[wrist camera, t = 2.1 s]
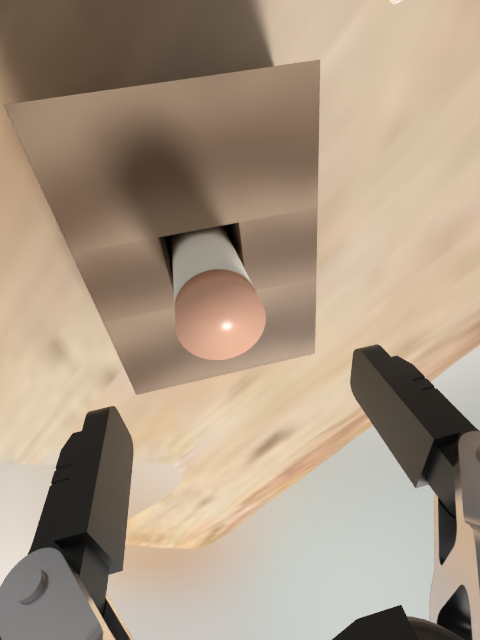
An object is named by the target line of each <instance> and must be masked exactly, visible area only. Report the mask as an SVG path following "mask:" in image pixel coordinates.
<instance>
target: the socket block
mask: <svg viewBox="0 0 480 640" xmlns="http://www.w3.org/2000/svg"><path fill="white" fill-rule="evenodd" d="M319 91H320V60H315V61H308V62H301V63H294V64H287V65H280V66H273V67H266V68H259V69H252V70H245V71H238V72H231V73H224V74H217V75H210V76H203V77H196V78H189V79H182V80H174V81H167V82H160V83H153V84H146V85H139V86H132V87H125V88H118V89H111V90H104V91H97V92H90V93H83V94H76V95H69V96H62V97H55V98H48V99H41V100H34V101H27V102H20V103H13V104H6V105H4V107H5V110H6V112H7V114H8V116H9V118H10V120H11V123H12V125H13V127H14V129H15V131H16V134H17V136H18V138H19V140H20V142H21V144H22V147H23V149H24V151H25V153H26V155H27V157H28V160H29V162H30V164H31V166H32V168H33V171H34V173H35V175H36V177H37V179H38V181H39V184H40V186H41V188H42V190H43V192H44V195H45V197H46V199H47V201H48V203H49V205H50V208H51V210H52V212H53V214H54V216H55V218H56V221H57V223H58V225H59V227H60V229H61V232H62V234H63V236H64V238H65V240H66V242H67V245H68V247H69V249H70V251H71V253H72V256H73V258H74V260H75V262H76V264H77V266H78V269H79V271H80V273H81V275H82V277H83V279H84V282H85V284H86V286H87V288H88V290H89V293H90V295H91V297H92V299H93V301H94V303H95V306H96V308H97V310H98V312H99V314H100V316H101V319H102V321H103V323H104V325H105V327H106V330H107V332H108V334H109V336H110V338H111V340H112V343H113V345H114V347H115V349H116V351H117V354H118V356H119V358H120V360H121V362H122V364H123V367H124V369H125V371H126V373H127V375H128V377H129V380H130V382H131V384H132V386H133V388H134V391H135V393H136V395H138V394H142V393H146V392H151V391H155V390H159V389H164V388H168V387H172V386H177V385H181V384H185V383H190V382H194V381H198V380H202V379H207V378H211V377H215V376H220V375H224V374H228V373H233V372H237V371H241V370H246V369H250V368H254V367H259V366H263V365H267V364H271V363H276V362H280V361H284V360H289V359H293V358H297V357H302V356H306V355H310V354H315V314H316V258H317V203H318V147H319ZM222 225H226V232H227V235H228V237H229V239H230V241H231V243H232V245H233V247H234V249H235V251H236V253H237V255H238V257H239V259H240V261H241V263H242V265H243V267H244V269H245V271H246V273H247V275H248V277H249V279H250V281H251V283H252V285H253V287H254V289H255V291H256V293H257V295H258V297H259V299H260V301H261V303H262V305H263V307H264V310H265V314H266V323H265V328H264V331H263V333H262V335H261V337H260V338H259V340H258V341H257V342H256V343H255V344H254V345H253V346H252V347H251V348H250V349H249V350H247V351H246V352H244V353H242V354H241V355H239V356H236V357H233V358H230V359H225V360H208V359H203V358H200V357H197V356H195V355H193V354H191V353H190V352H189V351H187V350H186V349H185V348H184V347H183V346H182V344H181V343H180V341H179V339H178V337H177V334H176V326H175V305H174V284H173V263H172V250H171V246H170V243H169V239H168V236H169V235H174V234H179V233H185V232H190V231H195V230H201V229H206V228H211V227H217V226H222Z"/></svg>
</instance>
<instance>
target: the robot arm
mask: <svg viewBox="0 0 480 640" xmlns="http://www.w3.org/2000/svg"><path fill="white" fill-rule="evenodd" d="M350 384H351V389H352V392H353V395H354V397H355V398H356V400H357V402H358V403H359V405H360V406H361V408H362V409H363V411H364V412H365V413H366V415H367V416H368V418H369V419H370V421H371V422H372V424H373V425H374V427H375V428H376V430H377V431H378V433H379V434H380V436H381V437H382V439H383V440H384V442H385V443H386V445H387V446H388V448H389V449H390V451H391V452H392V454H393V455H394V457H395V458H396V460H397V461H398V463H399V464H400V465H401V467H402V469H403V470H404V471H405V473H406V474H407V476H408V477H409V479H410V480H411V482H412V483H413V485H414V486H415V488H418V487H422V486H425V485H430V486H431V488H432V489H433V491H434V492H435V496H434V574H433V580H432V584H431V592H430V621H427V620H424V619H419V618H415V617H409V616H406V614H405V612H404V610H403V608H402V606H401V605H400V606H396V607H393V608H390V609H387V610H384V611H381V612H378V613H374V614H372V615H368V616H365V617H362V618H359V619H357V620H355V621H354V622H353V623H352V624H350V625H349V626H348V627H347V628H346V629H344V630H343V631H342V632H341V633H340V634H338V635H337V636H336V637H335V638H333V639H332V640H480V431H479V430H478V429H476V428H475V427H474V426H473V425H472V424H471V423H470V422H469V421H468V420H467V419H466V418H465V417H464V416H463V415H462V414H461V413H460V412H459V411H458V410H457V409H456V408H455V407H454V406H453V405H452V404H451V403H450V402H449V401H448V400H447V399H446V398H445V397H444V395H443V394H442V393H441V392H440V391H439V390H438V389H435V388H434V386H433V384H432V383H431V382H430V381H429V380H428V379H425V377H424V375H423V374H422V373H421V372H420V371H419V370H418V369H417V368H416V367H415V366H414V365H413V364H411V363H409V362H407V361H406V360H404V359H402V358H400V357H398V356H394V357H390V355H389V354H388V353H387V352H386V351H385V350H384V349H383V348H382V347H381V346H380V345H372V346H368V347H364V348H359V349H356V350H354V353H353V360H352V370H351V380H350ZM132 463H133V442H132V438H131V435H130V433H129V431H128V429H127V427H126V426H125V424H124V422H123V420H122V418H121V416H120V414H119V412H118V410H117V409H116V407H114V406H111V407H107V408H103V409H99V410H94V411H90V412H88V413H87V415H86V418H85V421H84V425H83V429H82V431H80V432H76V433H73V434H72V435H71V437H70V438H69V440H68V441H67V442H66V444H65V445H64V447H63V448H62V450H61V452H60V456H59V459H58V462H57V465H56V471H55V472H54V475H53V478H52V482H51V483H52V485H51V486H50V488H49V491H48V495H47V498H46V501H45V504H44V508H43V511H42V514H41V517H40V521H39V524H38V527H37V530H36V533H35V537H34V540H33V543H32V546H31V549H30V551H29V553H28V555H27V556H26V557H24V558H23V559H22V560H21V561H20V562H19V563H18V564H17V565H16V566H15V567H14V568H13V569H12V570H11V571H10V572H9V574H8V575H7V577H6V578H5V580H4V581H3V583H2V585H1V587H0V640H134V638H133V637H132V635H131V633H130V632H129V630H128V628H127V627H126V625H125V624H124V622H123V620H122V618H121V617H120V615H119V613H118V612H117V610H116V609H115V607H114V605H113V604H112V602H111V600H110V599H109V597H108V595H107V594H106V590H107V582H108V575H109V574H113V573H116V572H120V571H122V570H123V560H124V549H125V539H126V528H127V517H128V505H129V495H130V484H131V473H132Z"/></svg>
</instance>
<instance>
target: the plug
mask: <svg viewBox="0 0 480 640" xmlns="http://www.w3.org/2000/svg"><path fill="white" fill-rule="evenodd" d="M171 242H172V263H173V284H174V305H175V326H176V334H177V337H178V339H179V341H180V343H181V344H182V346H183V347H184V348H185V349H186V350H187V351H189V352H190V353H191V354H193V355H195V356H197V357H200V358H203V359H208V360H225V359H230V358H233V357H236V356H239V355H241V354H242V353H244V352H246V351H247V350H249V349H250V348H251V347H252V346H253V345H254V344H255V343H256V342H257V341H258V340H259V338H260V337H261V335H262V333H263V331H264V328H265V323H266V314H265V310H264V307H263V305H262V303H261V301H260V299H259V297H258V295H257V293H256V291H255V289H254V287H253V285H252V283H251V281H250V279H249V277H248V275H247V273H246V271H245V269H244V267H243V265H242V263H241V261H240V259H239V257H238V255H237V253H236V251H235V249H234V247H233V245H232V243H231V241H230V239H229V237H228V235H227V233H226V231H225V229H224V227H223V225H222V226H217V227H211V228H206V229H201V230H195V231H190V232H185V233H179V234H174V235H171Z"/></svg>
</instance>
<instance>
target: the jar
mask: <svg viewBox="0 0 480 640" xmlns="http://www.w3.org/2000/svg"><path fill="white" fill-rule="evenodd" d="M389 1H390V2H391V3H392V4H397V3H399V2H401V1H403V0H389Z"/></svg>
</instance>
